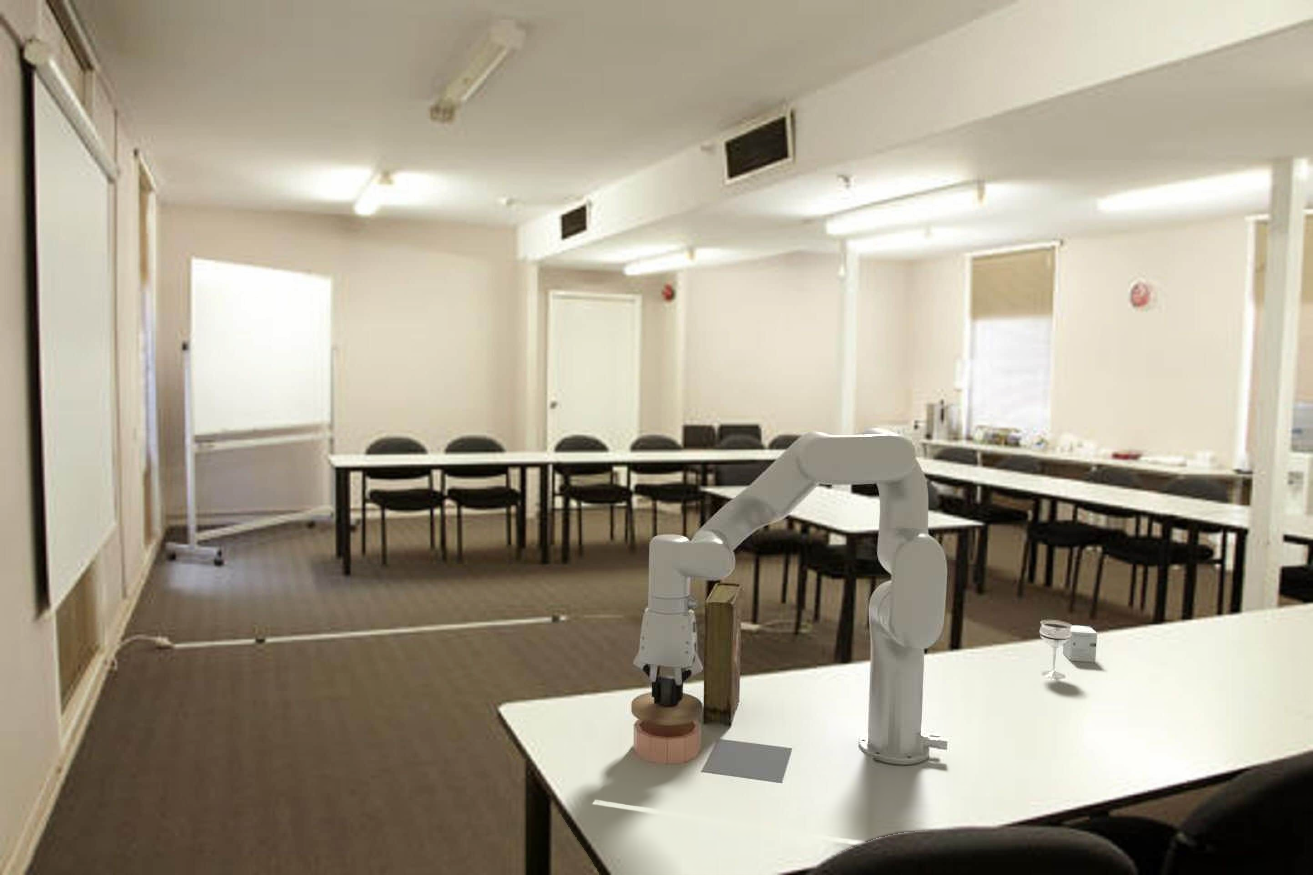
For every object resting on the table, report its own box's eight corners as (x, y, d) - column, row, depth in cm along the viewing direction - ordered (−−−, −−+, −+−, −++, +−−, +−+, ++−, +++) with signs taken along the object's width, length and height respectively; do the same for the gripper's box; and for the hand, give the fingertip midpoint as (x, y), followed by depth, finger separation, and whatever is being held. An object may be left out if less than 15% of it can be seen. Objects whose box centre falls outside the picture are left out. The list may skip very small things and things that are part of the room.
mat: (792, 751, 164) (792, 748, 164) (781, 785, 150) (781, 782, 150) (717, 741, 167) (717, 738, 167) (701, 774, 154) (701, 771, 154)
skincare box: (1069, 660, 216) (1071, 631, 215) (1062, 652, 222) (1063, 624, 221) (1096, 662, 215) (1097, 632, 214) (1088, 654, 221) (1089, 625, 220)
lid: (709, 701, 167) (709, 669, 166) (693, 729, 154) (694, 694, 154) (642, 693, 170) (643, 662, 169) (622, 719, 158) (622, 685, 157)
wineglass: (1074, 679, 202) (1077, 628, 201) (1044, 679, 202) (1047, 628, 201) (1061, 669, 209) (1064, 619, 208) (1032, 669, 209) (1035, 619, 208)
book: (714, 696, 190) (716, 581, 188) (740, 698, 189) (742, 583, 187) (703, 727, 174) (705, 602, 172) (730, 729, 173) (733, 604, 171)
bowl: (706, 742, 167) (706, 716, 166) (691, 770, 155) (691, 742, 155) (645, 734, 170) (645, 709, 170) (626, 761, 159) (626, 734, 158)
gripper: (717, 602, 162) (715, 700, 163) (632, 594, 166) (630, 689, 168) (708, 613, 155) (706, 715, 156) (619, 604, 159) (618, 704, 161)
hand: (667, 701), depth 162 cm, fingers closed on lid, 2 cm apart
